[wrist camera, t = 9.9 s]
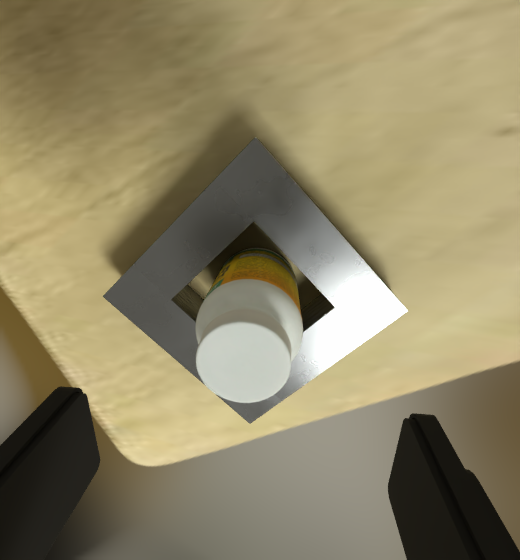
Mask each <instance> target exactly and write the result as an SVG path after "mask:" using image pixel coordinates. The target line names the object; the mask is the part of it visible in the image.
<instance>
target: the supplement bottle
mask: <svg viewBox="0 0 520 560" xmlns="http://www.w3.org/2000/svg"><path fill="white" fill-rule="evenodd" d="M196 337H197V341H198V344H199V345H198V348H197V352H196V367H197V371H198V374H199V376H200V378H201V379H202V381H203V383H204V384H205V385H206V386H207V387H208V388H209V389H210V390H211V391H212V392H213V393H215V394H216V395H218V396H220V397H222V398H224V399H227V400H230V401H233V402H239V403H252V402H258V401H262V400H265V399H267V398H269V397H271V396H273V395H274V394H276V393H277V392H278V391H279V390H280V389H281V388H282V387H283V386H284V384H285V383H286V381H287V379H288V377H289V374H290V370H291V362H292V361H293V359H294V358H295V356H296V355H297V353H298V351H299V349H300V346H301V343H302V338H303V323H302V316H301V309H300V303H299V296H298V288H297V282H296V277H295V274H294V272H293V270H292V268H291V266H290V265H289V264H288V262H287V261H286V260H285V259H284V258H283V257H282V256H280V255H279V254H277V253H275V252H273V251H271V250H268V249H264V248H249V249H245V250H243V251H240V252H238V253H236V254H234V255H233V256H232V257H230V258H229V259H228V260H227V261H226V262H225V264H224V265H223V267H222V268H221V270H220V272H219V274H218V276H217V278H216V280H215V281H214V283H213V285H212V287H211V289H210V290H209V292H208V294H207V296H206V298H205V299H204V301H203V303H202V305H201V307H200V309H199V312H198V315H197V319H196Z"/></svg>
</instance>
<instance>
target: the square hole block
mask: <svg viewBox="0 0 520 560" xmlns="http://www.w3.org/2000/svg"><path fill="white" fill-rule="evenodd" d="M253 221H254V222H255V223H256V224H257V225H258V226H259V227H260V228H261V229H262V230H263V231H264V232H265V234H266V235H267V236H268V237H269V238H270V239H271V240H272V241H273V242H274V243H275V244H276V245H277V246H278V247H279V248H280V249H281V250H282V252H283V253H284V254H285V255H286V256H287V257H288V258H289V259H290V260H291V261H292V262H293V263H294V264H295V265H296V266H297V267H298V268H299V270H300V271H301V272H302V273H303V274H304V275H305V276H306V277H307V278H308V279H309V280H310V281H311V282H312V283H313V284H314V285H315V286H316V288H317V289H318V290H319V291H320V292H321V293H322V294H321V295H320V296H319V297H317V298H316V299H315V300H314V301H312V302H311V303H310V304H309V305H307V306H306V307H305V308H304V309H302V310H301V316H302V323H303V338H302V343H301V346H300V349H299V351H298V353H297V355H296V356H295V358H294V359H293V361H292V362H291V370H290V374H289V377H288V379H287V381H286V383H285V384H284V386H283V387H282V388H281V389H280V390H279V391H278V392H277V393H276V394H274V395H273V396H271V397H269V398H267V399H265V400H262V401H258V402H252V403H239V402H233V401H230V400H227V399H224V398H222V397H220V396H218V395H217V396H218V397H219V398H221V399H222V400H223V401H224V402H225V403H226V404H228V405H229V406H230V407H231V408H232V409H233V410H234V411H236V412H237V413H238V414H239V415H240V416H241V417H243V418H244V419H245V420H246V421H247V422H248V423H252V422H253V421H255V420H256V419H257V418H259V417H260V416H262V415H263V414H264V413H266V412H267V411H269V410H270V409H271V408H273V407H274V406H276V405H277V404H278V403H280V402H281V401H283V400H284V399H285V398H287V397H288V396H290V395H291V394H292V393H294V392H295V391H297V390H298V389H299V388H301V387H302V386H304V385H305V384H306V383H308V382H309V381H311V380H312V379H313V378H315V377H316V376H318V375H319V374H320V373H322V372H323V371H325V370H326V369H327V368H329V367H330V366H332V365H333V364H334V363H336V362H337V361H339V360H340V359H341V358H343V357H344V356H346V355H347V354H348V353H350V352H351V351H353V350H354V349H355V348H357V347H358V346H360V345H361V344H362V343H364V342H365V341H367V340H368V339H369V338H371V337H372V336H374V335H375V334H376V333H378V332H379V331H381V330H382V329H383V328H385V327H386V326H388V325H389V324H390V323H392V322H393V321H395V320H396V319H397V318H399V317H400V316H402V315H403V314H404V313H406V312H407V311H408V310H407V309H406V308H405V307H404V305H403V304H402V303H401V302H400V301H399V299H398V298H397V297H396V296H395V295H394V294H393V292H392V291H391V290H390V289H389V288H388V287H387V285H386V284H385V283H384V282H383V281H382V280H381V279H380V278H379V276H378V275H377V274H376V273H375V272H374V271H373V270H372V268H371V267H370V266H369V265H368V264H367V263H366V262H365V260H364V259H363V258H362V257H361V256H360V255H359V254H358V252H357V251H356V250H355V249H354V248H353V247H352V246H351V244H350V243H349V242H348V241H347V240H346V239H345V238H344V236H343V235H342V234H341V233H340V232H339V231H338V230H337V228H336V227H335V226H334V225H333V224H332V223H331V222H330V220H329V219H328V218H327V217H326V216H325V215H324V214H323V213H322V211H321V210H320V209H319V208H318V207H317V206H316V205H315V203H314V202H313V201H312V200H311V199H310V198H309V197H308V195H307V194H306V193H305V192H304V191H303V190H302V189H301V187H300V186H299V185H298V184H297V183H296V182H295V181H294V179H293V178H292V177H291V176H290V175H289V174H288V173H287V171H286V170H285V169H284V168H283V167H282V166H281V165H280V163H279V162H278V161H277V160H276V159H275V158H274V157H273V155H272V154H271V153H270V152H269V151H268V150H267V149H266V147H265V146H264V145H263V144H262V143H261V142H260V141H259V140H258V139H257V138H256V137H255V138H254V139H253V140H252V141H251V142H250V143H249V144H248V145H247V146H246V147H245V148H244V149H243V150H242V151H241V152H240V154H239V155H238V156H237V157H236V158H235V159H234V160H233V161H232V162H231V163H230V164H229V165H228V166H227V167H226V168H225V169H224V170H223V171H222V172H221V173H220V174H219V175H218V177H217V178H216V179H215V180H214V181H213V182H212V183H211V184H210V185H209V186H208V187H207V188H206V189H205V190H204V191H203V192H202V193H201V194H200V195H199V196H198V197H197V198H196V199H195V201H194V202H193V203H192V204H191V205H190V206H189V207H188V208H187V209H186V210H185V211H184V212H183V213H182V214H181V215H180V216H179V217H178V218H177V219H176V220H175V221H174V222H173V224H172V225H171V226H170V227H169V228H168V229H167V230H166V231H165V232H164V233H163V234H162V235H161V236H160V237H159V238H158V239H157V240H156V241H155V242H154V243H153V244H152V245H151V247H150V248H149V249H148V250H147V251H146V252H145V253H144V254H143V255H142V256H141V257H140V258H139V259H138V260H137V261H136V262H135V263H134V264H133V265H132V266H131V267H130V268H129V269H128V271H127V272H126V273H125V274H124V275H123V276H122V277H121V278H120V279H119V280H118V281H117V282H116V283H115V284H114V285H113V286H112V287H111V288H110V289H109V290H108V291H107V292H106V294H105V295H104V296H103V297H104V298H105V299H106V300H107V301H108V302H110V303H111V304H112V305H113V306H114V307H115V308H117V309H118V310H119V311H120V312H121V313H122V314H124V315H125V316H126V317H127V318H128V319H129V320H130V321H132V322H133V323H134V324H135V325H136V326H137V327H139V328H140V329H141V330H142V331H143V332H144V333H145V334H147V335H148V336H149V337H150V338H151V339H152V340H154V341H155V342H156V343H157V344H158V345H159V346H161V347H162V348H163V349H164V350H165V351H166V352H167V353H169V354H170V355H171V356H172V357H173V358H174V359H176V360H177V361H178V362H179V363H180V364H181V365H182V366H184V367H185V368H186V369H187V370H188V371H189V372H191V373H192V374H193V375H194V376H195V377H196V378H197V379H199V380H200V381H201V382H202V383H203V381H202V379H201V378H200V376H199V374H198V371H197V367H196V352H197V348H198V345H199V344H198V341H197V337H196V319H197V315H198V312H199V309H200V307H201V305H202V303H203V301H204V300H203V299H202V298H201V297H199V296H198V295H197V294H196V293H195V292H194V291H193V290H192V289H191V288H190V287H189V286H188V285H187V284H188V283H189V282H190V281H191V280H192V279H193V278H194V277H195V276H196V275H198V274H199V273H200V272H201V271H202V270H203V269H204V268H205V267H206V266H207V265H208V264H209V263H210V262H211V261H212V260H213V259H214V258H215V257H216V256H218V255H219V254H220V253H221V252H222V251H223V250H224V249H225V248H226V247H227V246H228V245H229V244H230V243H231V242H232V241H233V240H234V239H235V238H237V237H238V236H239V235H240V234H241V233H242V232H243V231H244V230H245V229H246V228H247V227H248V226H249V225H250V224H251V223H252V222H253ZM203 384H204V383H203ZM204 385H205V384H204Z"/></svg>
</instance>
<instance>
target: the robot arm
mask: <svg viewBox="0 0 520 560" xmlns="http://www.w3.org/2000/svg"><path fill="white" fill-rule="evenodd" d="M99 463H100V456H99V451H98V446H97V441H96V437H95V432H94V427H93V422H92V418H91V413H90V408H89V403H88V398H87V395H86V394H84V393H83V392H82V390H81V389H80V388H73V387H58V388H57V389H55V390H54V391H53V392H52V393H51V394H50V395H49V397H47V399H46V400H45V401H44V402H43V403H42V404H41V405H40V406H39V407H38V408H37V409H36V410H35V411H34V412H33V413H32V414H31V415H30V416H29V417H28V418H27V419H26V420H25V421H24V422H23V423H22V424H21V425H20V426H19V427H18V428H17V429H16V430H15V431H14V432H13V433H12V434H11V435H10V436H9V437H8V438H7V439H6V440H5V441H4V442H3V444H1V446H0V560H44V559H45V557H46V555H47V554H48V552H49V550H50V549H51V547H52V545H53V544H54V542H55V540H56V539H57V537H58V535H59V533H60V532H61V530H62V529H63V527H64V525H65V523H66V522H67V520H68V518H69V517H70V515H71V513H72V512H73V510H74V509H75V507H76V505H77V503H78V502H79V500H80V499H81V497H82V495H83V493H84V492H85V490H86V489H87V487H88V485H89V483H90V482H91V480H92V478H93V477H94V475H95V473H96V472H97V470H98V467H99ZM388 494H389V499H390V503H391V506H392V509H393V513H394V516H395V520H396V523H397V527H398V530H399V534H400V537H401V541H402V544H403V547H404V551H405V554H406V558H407V560H520V552H519V550H518V548H517V547H516V545H515V543H514V541H513V540H512V538H511V536H510V534H509V533H508V531H507V529H506V527H505V526H504V524H503V522H502V520H501V519H500V517H499V515H498V513H497V512H496V510H495V508H494V507H493V505H492V503H491V501H490V500H489V498H488V496H487V494H486V493H485V491H484V489H483V487H482V486H481V484H480V482H479V481H478V479H477V478H476V476H475V475H474V474H473V473H472V472H471V471H470V470H466V469H465V468H464V466H463V465H462V463H461V461H460V459H459V458H458V456H457V454H456V452H455V450H454V449H453V447H452V445H451V443H450V441H449V439H448V438H447V436H446V434H445V432H444V431H443V429H442V427H441V425H440V423H439V421H438V420H437V418H436V417H435V416H434V415H425V414H411V415H410V417H409V419H407V418H405V419H404V420H403V424H402V428H401V432H400V437H399V441H398V445H397V450H396V454H395V458H394V462H393V466H392V471H391V475H390V479H389V483H388Z"/></svg>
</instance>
